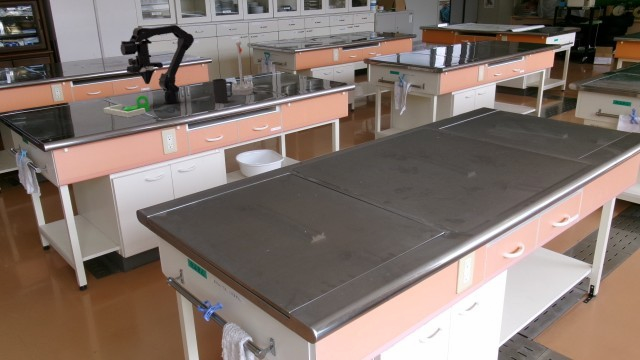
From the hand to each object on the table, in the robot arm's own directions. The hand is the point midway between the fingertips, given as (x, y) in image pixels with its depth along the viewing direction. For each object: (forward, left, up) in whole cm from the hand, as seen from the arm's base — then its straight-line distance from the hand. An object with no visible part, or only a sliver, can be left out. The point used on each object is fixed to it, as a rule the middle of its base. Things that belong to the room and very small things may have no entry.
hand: (147, 83), depth 272 cm
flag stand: (-49, +20, -12) cm, 54 cm away
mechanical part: (+9, +1, -12) cm, 16 cm away
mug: (-27, +27, -12) cm, 40 cm away
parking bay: (+16, 0, -12) cm, 20 cm away
